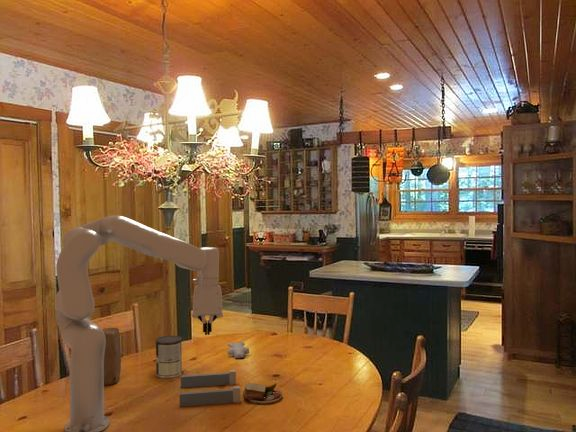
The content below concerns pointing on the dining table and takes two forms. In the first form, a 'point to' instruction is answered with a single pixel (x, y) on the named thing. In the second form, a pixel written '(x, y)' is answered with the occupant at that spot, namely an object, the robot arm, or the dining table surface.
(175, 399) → the dining table surface
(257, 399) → the toy sandwich meal
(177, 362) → the coffee can
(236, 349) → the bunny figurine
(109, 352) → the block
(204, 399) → the chute
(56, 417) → the dining table surface
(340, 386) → the dining table surface
